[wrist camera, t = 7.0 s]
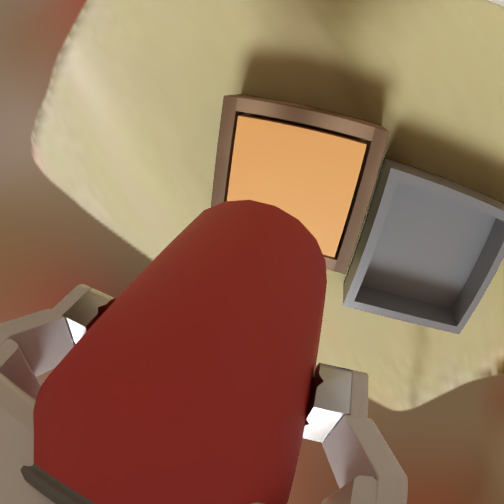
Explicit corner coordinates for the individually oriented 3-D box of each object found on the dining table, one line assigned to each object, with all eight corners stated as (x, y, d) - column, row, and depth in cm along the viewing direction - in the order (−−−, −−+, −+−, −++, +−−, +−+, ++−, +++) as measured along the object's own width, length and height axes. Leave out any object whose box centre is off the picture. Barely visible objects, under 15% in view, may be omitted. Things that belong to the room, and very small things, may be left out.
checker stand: (381, 125, 22) (388, 131, 19) (345, 250, 28) (345, 273, 25) (240, 94, 24) (223, 95, 20) (224, 218, 30) (208, 237, 26)
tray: (504, 203, 21) (520, 218, 18) (451, 311, 28) (459, 334, 25) (384, 157, 23) (390, 167, 20) (343, 283, 30) (342, 305, 27)
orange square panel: (365, 141, 20) (366, 144, 19) (334, 250, 25) (334, 257, 24) (243, 114, 22) (238, 115, 21) (228, 222, 26) (223, 228, 25)
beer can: (180, 189, 13) (-55, 400, 3) (336, 202, 12) (270, 592, 2) (193, 309, 17) (71, 508, 7) (318, 329, 15) (259, 582, 5)
